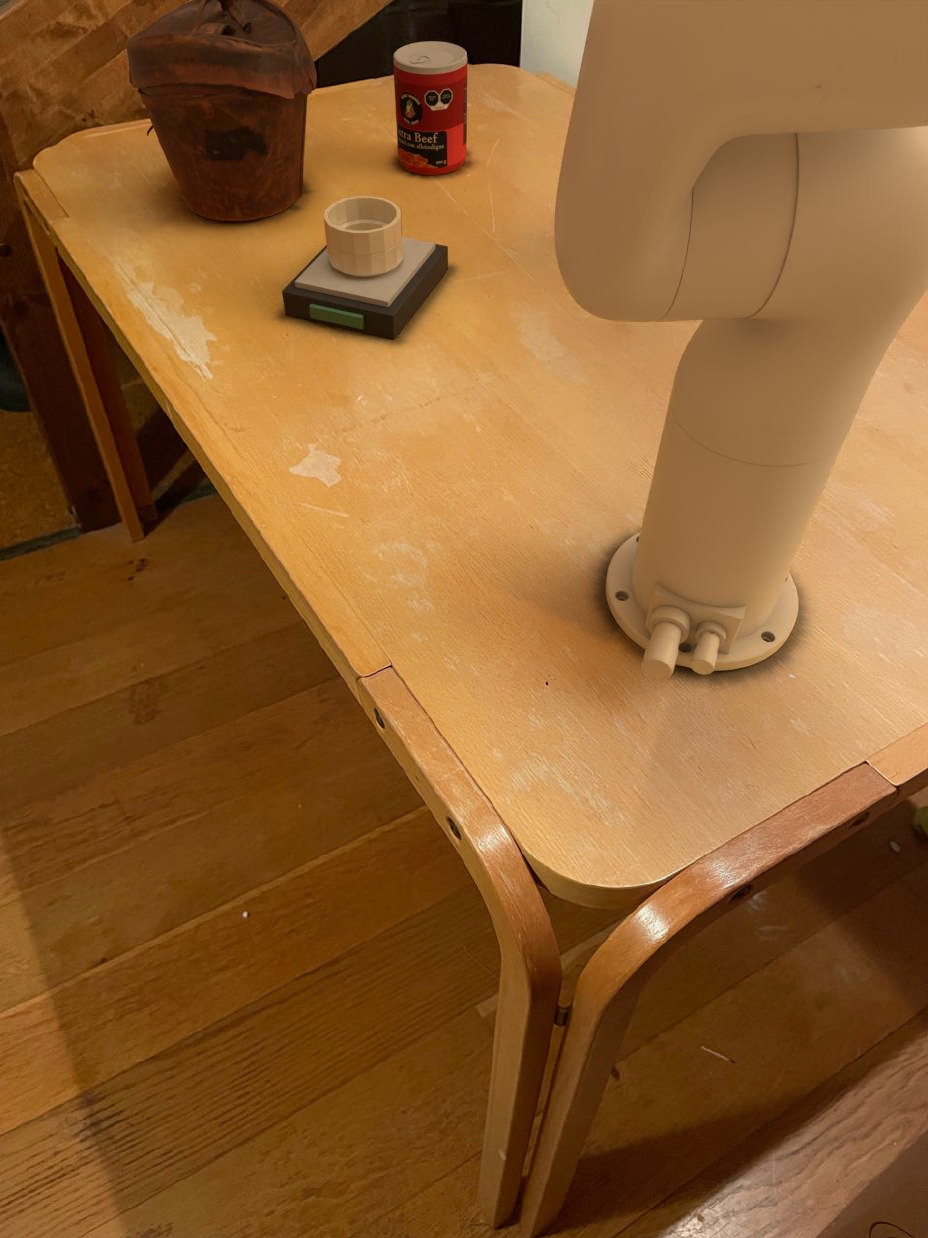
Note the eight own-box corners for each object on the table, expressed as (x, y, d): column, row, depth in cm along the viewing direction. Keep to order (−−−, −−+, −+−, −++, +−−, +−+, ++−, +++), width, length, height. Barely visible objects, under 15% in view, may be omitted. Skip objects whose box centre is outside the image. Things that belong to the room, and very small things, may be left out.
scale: (392, 342, 79) (390, 312, 77) (282, 317, 82) (277, 287, 80) (448, 269, 87) (448, 239, 85) (347, 248, 90) (344, 219, 88)
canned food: (384, 165, 102) (378, 56, 93) (426, 140, 106) (423, 35, 98) (439, 182, 99) (437, 72, 91) (479, 157, 103) (481, 49, 95)
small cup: (384, 286, 80) (381, 238, 76) (316, 272, 81) (310, 223, 78) (414, 250, 84) (412, 203, 80) (349, 237, 85) (344, 190, 82)
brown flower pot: (278, 141, 106) (251, -42, 92) (360, 209, 95) (344, 14, 81) (133, 178, 99) (80, -12, 86) (203, 255, 89) (156, 52, 75)
